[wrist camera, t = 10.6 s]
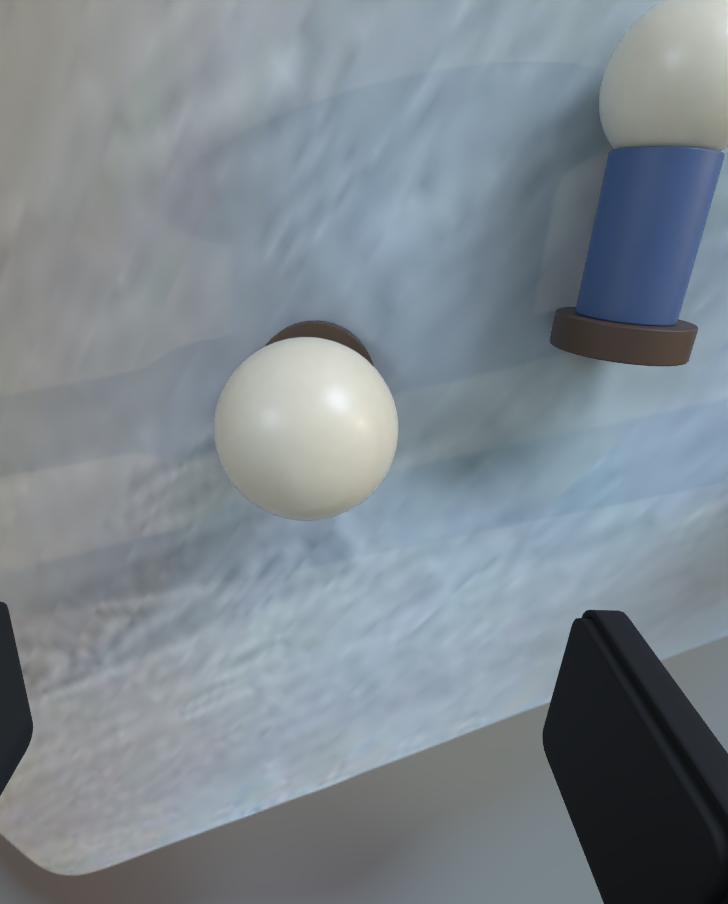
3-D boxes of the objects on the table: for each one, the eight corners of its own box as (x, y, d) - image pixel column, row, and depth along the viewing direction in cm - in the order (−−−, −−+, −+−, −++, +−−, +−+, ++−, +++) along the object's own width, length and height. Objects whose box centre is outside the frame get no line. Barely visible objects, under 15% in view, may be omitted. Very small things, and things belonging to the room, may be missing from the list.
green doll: (191, 339, 14) (195, 549, 15) (419, 352, 14) (401, 555, 15) (257, 316, 26) (256, 434, 27) (378, 324, 26) (370, 439, 28)
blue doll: (592, 10, 22) (673, -55, 16) (728, 24, 22) (849, -35, 17) (532, 333, 27) (580, 362, 21) (644, 340, 27) (718, 370, 22)
